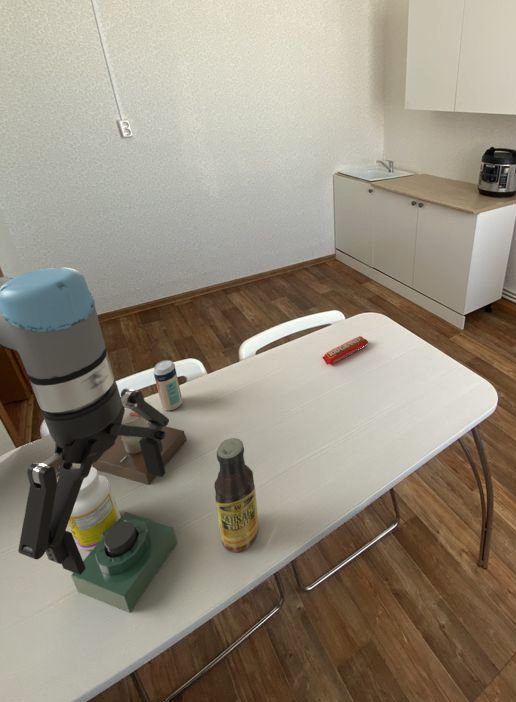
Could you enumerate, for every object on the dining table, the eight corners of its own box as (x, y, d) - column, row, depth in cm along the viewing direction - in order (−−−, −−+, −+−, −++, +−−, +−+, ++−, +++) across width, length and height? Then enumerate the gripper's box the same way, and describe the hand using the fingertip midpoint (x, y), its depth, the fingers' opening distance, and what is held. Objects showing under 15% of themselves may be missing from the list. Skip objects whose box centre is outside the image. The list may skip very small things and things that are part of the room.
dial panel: (93, 469, 79) (89, 457, 78) (135, 428, 89) (132, 417, 88) (149, 485, 75) (145, 473, 74) (186, 441, 85) (184, 430, 84)
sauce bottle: (223, 562, 62) (205, 473, 56) (220, 526, 68) (203, 440, 61) (264, 544, 65) (251, 457, 58) (258, 511, 70) (245, 427, 63)
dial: (119, 450, 80) (110, 419, 77) (138, 432, 84) (130, 402, 81) (139, 456, 78) (130, 424, 75) (157, 436, 83) (149, 406, 80)
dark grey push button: (101, 552, 59) (97, 544, 58) (122, 527, 62) (119, 518, 62) (122, 560, 58) (118, 551, 57) (142, 533, 61) (140, 525, 61)
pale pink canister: (169, 397, 98) (160, 358, 94) (186, 398, 98) (178, 359, 94) (157, 411, 94) (147, 370, 90) (175, 412, 93) (166, 372, 89)
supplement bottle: (82, 521, 69) (62, 469, 64) (124, 507, 71) (107, 455, 67) (72, 559, 63) (49, 504, 59) (118, 542, 66) (100, 488, 61)
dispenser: (77, 592, 59) (66, 566, 57) (130, 527, 68) (122, 503, 66) (130, 613, 56) (120, 587, 54) (177, 542, 65) (171, 518, 63)
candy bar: (328, 368, 108) (328, 359, 107) (321, 362, 111) (320, 353, 110) (370, 345, 118) (370, 337, 117) (362, 340, 121) (362, 332, 120)
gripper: (-19, 496, 34) (51, 636, 41) (177, 340, 57) (200, 448, 64) (-75, 476, 36) (2, 613, 43) (136, 333, 58) (163, 439, 66)
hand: (120, 515), depth 54 cm, fingers open, 13 cm apart
